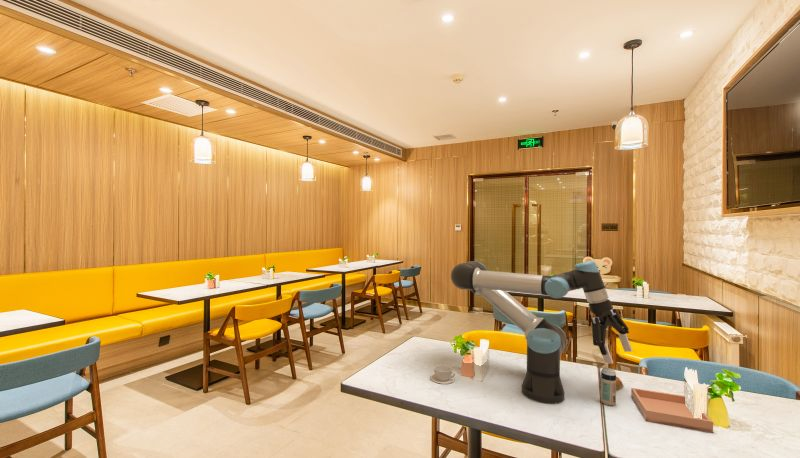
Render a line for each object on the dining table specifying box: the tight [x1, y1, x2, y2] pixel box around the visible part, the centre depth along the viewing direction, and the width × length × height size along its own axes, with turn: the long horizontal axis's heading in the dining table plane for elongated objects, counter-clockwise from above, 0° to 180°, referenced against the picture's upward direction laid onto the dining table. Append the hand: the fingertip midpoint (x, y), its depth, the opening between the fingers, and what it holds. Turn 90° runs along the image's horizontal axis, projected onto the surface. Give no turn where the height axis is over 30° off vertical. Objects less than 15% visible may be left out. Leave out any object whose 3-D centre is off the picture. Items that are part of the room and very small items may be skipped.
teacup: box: [430, 364, 456, 385], centre depth 143 cm, size 10×10×5 cm
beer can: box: [600, 367, 617, 407], centre depth 125 cm, size 5×5×12 cm
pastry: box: [616, 376, 624, 391], centre depth 138 cm, size 9×7×4 cm
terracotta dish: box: [630, 387, 714, 434], centre depth 119 cm, size 18×18×4 cm
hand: (619, 357), depth 129 cm, fingers open, 13 cm apart
